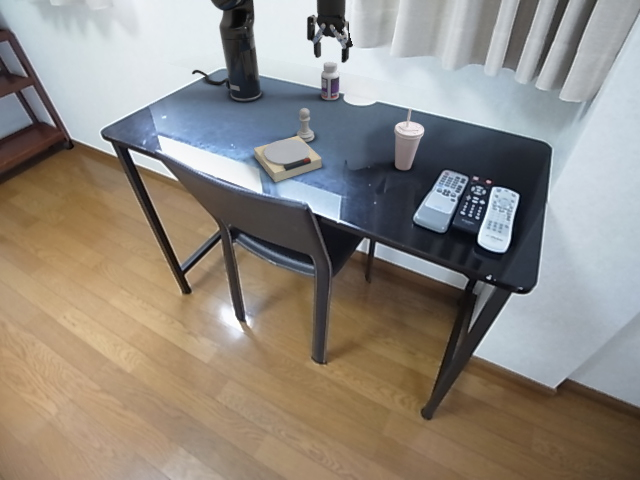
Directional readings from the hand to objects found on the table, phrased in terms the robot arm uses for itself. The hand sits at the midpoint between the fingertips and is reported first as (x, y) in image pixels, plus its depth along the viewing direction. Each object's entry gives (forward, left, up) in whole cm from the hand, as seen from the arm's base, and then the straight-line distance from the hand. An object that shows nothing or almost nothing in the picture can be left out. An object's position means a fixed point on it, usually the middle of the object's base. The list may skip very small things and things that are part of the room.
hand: (331, 59), depth 107 cm
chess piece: (+18, -18, -11) cm, 28 cm away
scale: (+26, -27, -11) cm, 39 cm away
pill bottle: (0, 0, -11) cm, 11 cm away
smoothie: (+41, -4, -11) cm, 42 cm away
